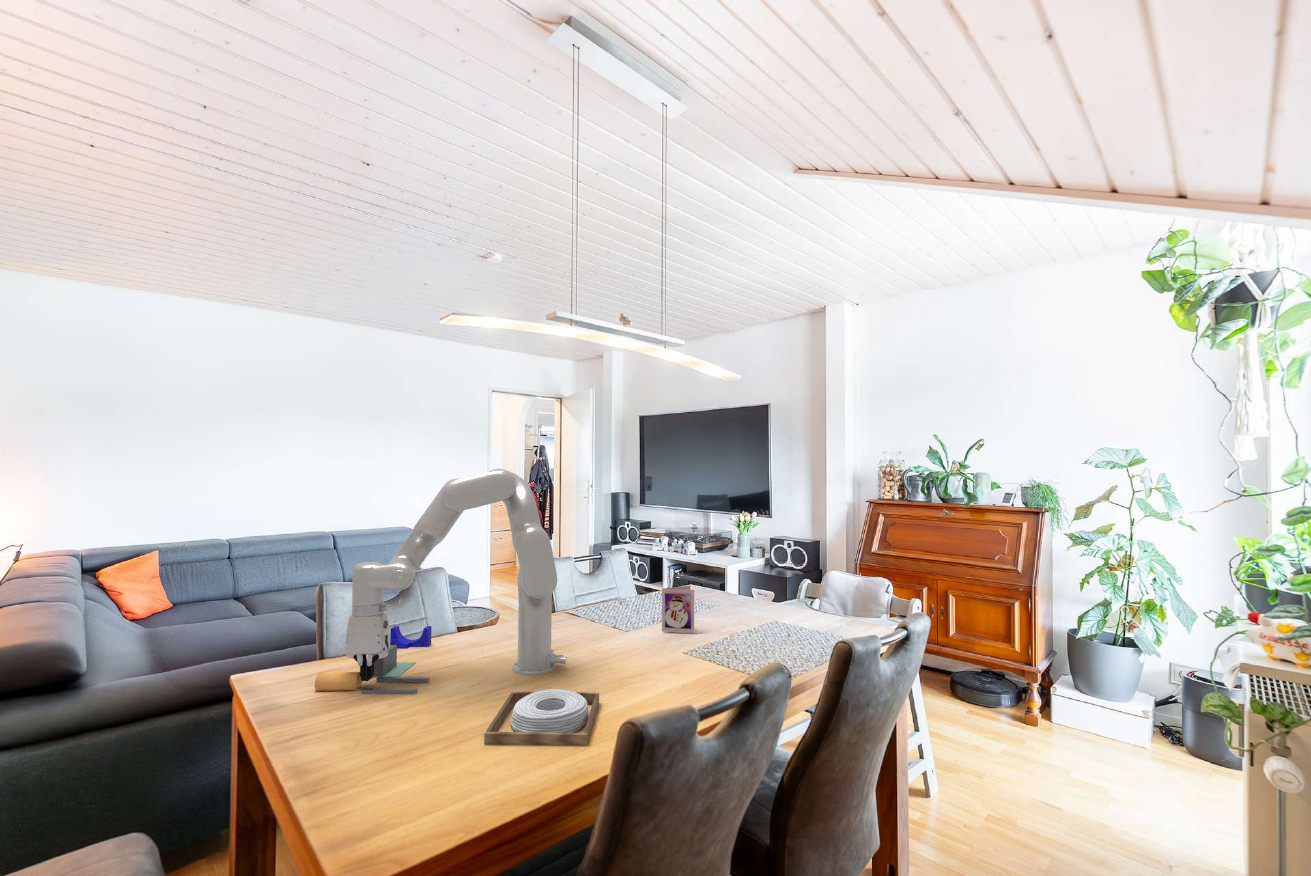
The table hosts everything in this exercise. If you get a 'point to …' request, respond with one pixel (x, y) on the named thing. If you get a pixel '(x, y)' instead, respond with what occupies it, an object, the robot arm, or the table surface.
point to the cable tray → (538, 737)
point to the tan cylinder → (338, 681)
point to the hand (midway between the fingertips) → (366, 679)
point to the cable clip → (405, 643)
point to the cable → (550, 712)
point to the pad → (399, 669)
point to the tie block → (386, 662)
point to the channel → (395, 690)
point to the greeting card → (678, 609)
